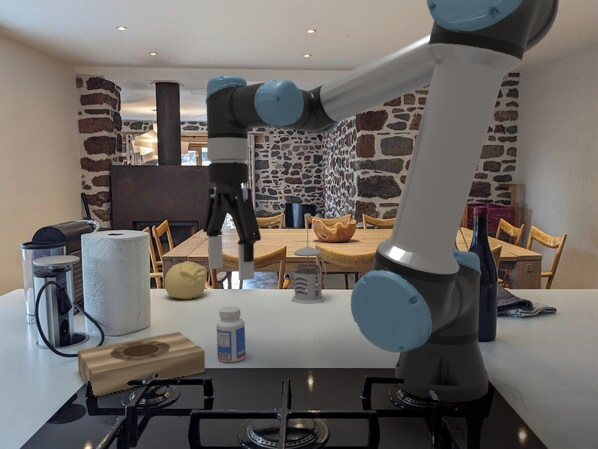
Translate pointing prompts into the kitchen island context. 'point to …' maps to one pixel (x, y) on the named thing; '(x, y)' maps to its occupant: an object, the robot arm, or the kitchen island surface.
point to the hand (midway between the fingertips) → (230, 273)
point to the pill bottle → (230, 335)
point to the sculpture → (185, 280)
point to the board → (139, 361)
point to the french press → (308, 276)
